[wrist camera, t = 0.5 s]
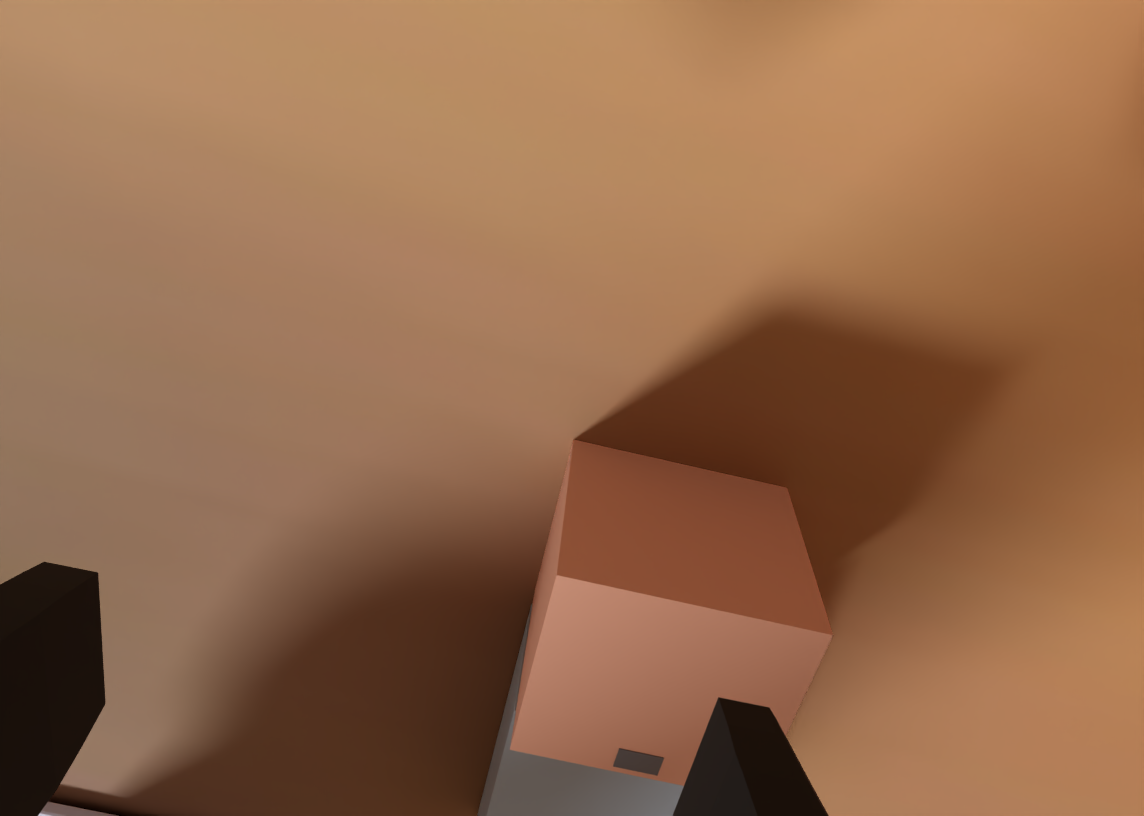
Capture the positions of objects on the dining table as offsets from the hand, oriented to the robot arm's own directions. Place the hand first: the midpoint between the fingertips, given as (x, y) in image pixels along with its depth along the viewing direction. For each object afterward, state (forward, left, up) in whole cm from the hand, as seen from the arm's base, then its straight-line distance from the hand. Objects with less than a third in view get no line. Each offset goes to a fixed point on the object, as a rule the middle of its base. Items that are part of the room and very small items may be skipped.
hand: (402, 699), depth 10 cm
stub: (-4, -4, -10) cm, 11 cm away
